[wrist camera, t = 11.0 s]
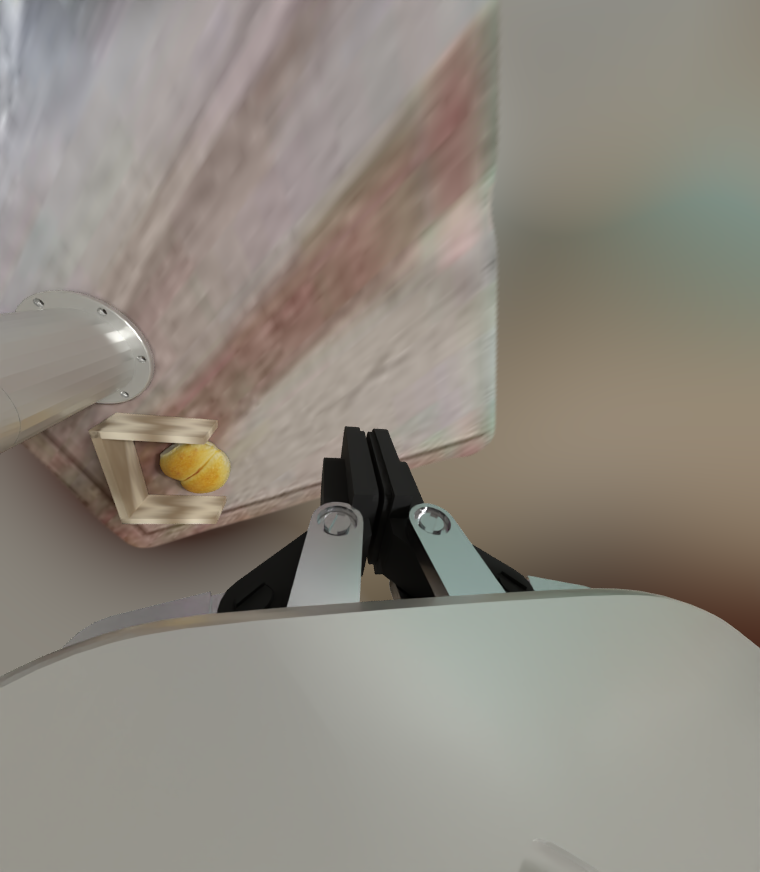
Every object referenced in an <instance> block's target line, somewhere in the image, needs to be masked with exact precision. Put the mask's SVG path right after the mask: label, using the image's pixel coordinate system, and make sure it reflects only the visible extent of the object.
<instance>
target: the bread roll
mask: <svg viewBox="0 0 760 872" xmlns="http://www.w3.org/2000/svg"><path fill="white" fill-rule="evenodd" d="M160 457H161V458H160V467H161V469H162V471H163V472H164V474H165V475H167V476H168V477H171V478H173V479H176V480H180V482H181V485H182V486H183V487H184V488H185V489H186V490H188V491H190V492H193V493H208V492H212V491H215V490H217V489H219V488H220V487H222V486H223V485H224V484H225V482H226V481H227V479H228V477H229V474H230V461H229V459H228V457H227V456H226V454H225V453H224V452H223V451H221V450H219V449H218V448H217V447H216V446H215V445H214V444H212V443H211V442H209V441H207V442H206V444H205V445H203V444H186V443H174V444H172V445H171V446H170V447H169V448H167V449H166V450H165V451H164V452H162V453H161V454H160Z"/></svg>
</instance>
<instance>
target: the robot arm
mask: <svg viewBox="0 0 760 872" xmlns="http://www.w3.org/2000/svg"><path fill="white" fill-rule="evenodd" d="M105 310H106V311H105ZM144 357H145V358H144ZM153 375H154V359H153V355H152V352H151V349H150V346H149V344H148V343H147V341H146V339H145V337H144V336H143V334H142V333H141V332H140V331H139V329H138V328H137V327H136V326H135V325H134V324H133V323H132V322H131V321H130V320H129V319H128V318H127V317H126V316H125V315H124V314H122V313H121V312H119V311H118V310H117V309H115V308H114V307H112V306H111V305H109V304H107V303H105V302H103V301H102V300H100V299H97V298H94V297H92V296H89V295H87V294H83V293H78V292H74V291H63V290H56V291H44V292H40V293H36V294H33V295H31V296H29V297H28V298H26V299H24V300H23V301H22V302H21V303H20V304H19V305H18V306H17V309H16V311H15V312H12V313H3V314H0V454H1V453H3V452H5V451H6V450H8V449H10V448H12V447H14V446H16V445H18V444H20V443H22V442H24V441H25V440H27V439H29V438H31V437H33V436H35V435H37V434H38V433H40V432H42V431H44V430H46V429H48V428H49V427H51V426H53V425H55V424H57V423H59V422H60V421H62V420H64V419H66V418H68V417H70V416H72V415H73V414H75V413H77V412H79V411H81V410H83V409H84V408H86V407H88V406H90V405H92V404H94V403H102V404H115V403H121V402H125V401H128V400H131V399H133V398H135V397H136V396H138V395H140V394H141V393H142V392H143V391H145V390H146V389H147V387H148V386H149V385H150V383H151V381H152V378H153ZM366 558H367V559H368V563H369V564H373V565H374V571H375V574H383V575H384V576H386V577H387V578H388V579H389V580H390V582H389V586H390V591H391V594H392V597H393V599H394V600H384V601H369V602H360V582H361V576H362V575H363V571H364V567H365V562H366ZM0 872H760V648H759V647H757V646H756V645H755V644H754V643H752V642H751V641H750V640H749V639H747V638H746V637H745V636H744V635H742V634H741V633H740V632H739V631H737V630H736V629H735V628H733V627H732V626H731V625H729V624H728V623H726V622H725V621H723V620H722V619H720V618H718V617H717V616H715V615H713V614H711V613H709V612H707V611H704V610H702V609H700V608H698V607H695V606H693V605H690V604H688V603H685V602H681V601H678V600H675V599H672V598H669V597H665V596H662V595H657V594H652V593H647V592H642V591H635V590H625V589H603V588H593V589H592V588H589V587H586V586H581V585H576V584H570V583H565V582H560V581H554V580H549V579H543V578H538V577H533V576H527V577H526V579H525V578H524V576H523V575H521V574H520V573H518V572H517V571H516V570H514V569H512V568H511V567H509V566H507V565H506V564H504V563H502V562H501V561H499V560H497V559H496V558H494V557H492V556H491V555H489V554H487V553H486V552H484V551H482V550H481V549H479V548H477V547H476V546H474V545H472V544H471V543H470V541H469V540H468V538H467V537H466V535H465V534H464V533H463V531H462V530H461V528H460V527H459V526H458V524H457V523H456V521H455V520H454V518H453V517H452V516H451V515H450V514H449V513H448V512H447V511H445V510H444V509H443V508H441V507H438V506H436V505H433V504H425V503H424V502H423V500H422V497H421V495H420V493H419V491H418V488H417V486H416V483H415V481H414V479H413V476H412V474H411V472H410V469H409V467H408V465H407V463H406V462H400V460H399V458H398V455H397V453H396V450H395V448H394V445H393V443H392V440H391V438H390V435H389V433H388V430H386V429H373V430H372V432H368V433H367V437H366V436H365V432H364V431H360V428H359V427H347V426H345V429H344V437H343V445H342V452H341V458H324V461H323V471H322V483H321V506H320V507H318V508H317V509H316V510H315V511H314V513H313V515H312V517H311V521H310V524H309V528H308V531H306V532H305V533H304V534H302V535H301V536H299V537H298V538H297V539H295V540H294V541H292V542H291V543H290V544H288V545H287V546H286V547H284V548H283V549H281V550H280V551H279V552H277V553H276V554H274V555H273V556H272V557H271V558H269V559H268V560H266V561H265V562H264V563H262V564H261V565H259V566H258V567H257V568H255V569H254V570H252V571H251V572H250V573H248V574H247V575H245V576H244V577H243V578H241V579H240V580H238V581H237V582H236V583H235V584H234V585H233V586H231V587H230V588H229V589H228V590H227V591H226V592H225V593H221V594H217V595H213V596H212V595H211V592H207V593H202V594H198V595H194V596H191V597H186V598H183V599H178V600H174V601H170V602H166V603H162V604H158V605H154V606H150V607H146V608H142V609H138V610H134V611H130V612H126V613H122V614H118V615H114V616H110V617H107V618H105V619H102V620H99V621H97V622H94V623H93V624H91V625H90V626H88V627H86V628H85V629H83V630H82V631H80V632H78V633H77V634H76V635H75V636H74V637H73V638H72V639H71V640H70V641H69V642H68V643H67V644H66V645H64V647H63V648H62V649H60V650H57V651H55V652H52V653H50V654H47V655H45V656H42V657H40V658H38V659H36V660H34V661H31V662H29V663H27V664H25V665H23V666H21V667H18V668H16V669H14V670H13V671H10V672H8V673H6V674H5V675H3V676H1V677H0Z"/></svg>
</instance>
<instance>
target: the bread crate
mask: <svg viewBox="0 0 760 872" xmlns="http://www.w3.org/2000/svg"><path fill="white" fill-rule="evenodd" d="M217 427H218V422H217V420H208V419H194V418H181V417H168V416H154V415H141V414H128V413H115V414H114V415H112V416H111V417H109V418H108V419H106V420H104V421H103V422H101V423H100V424H98V425H97V426H95V427H93V428H92V429H90V430H89V433H90V436H91V439H92V442H93V444H94V447H95V450H96V453H97V455H98V458H99V461H100V464H101V466H102V469H103V472H104V475H105V477H106V480H107V483H108V486H109V488H110V491H111V494H112V497H113V499H114V502H115V505H116V508H117V510H118V513H119V516H120V519H121V521H122V524H216V523H217V521H218V519H219V517H220V514H221V512H222V510H223V508H224V506H225V503H226V501H227V500H226V496H183V495H149V494H148V491H147V487H146V484H145V480H144V477H143V473H142V470H141V466H140V463H139V459H138V456H137V452H136V449H135V445H134V441H151V442H168V443H186V444H203V445H205V444H206V442H207V441H208V440H209V438H210V437H211V435H212V434H213V433H214V431H215V430H216V429H217Z"/></svg>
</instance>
